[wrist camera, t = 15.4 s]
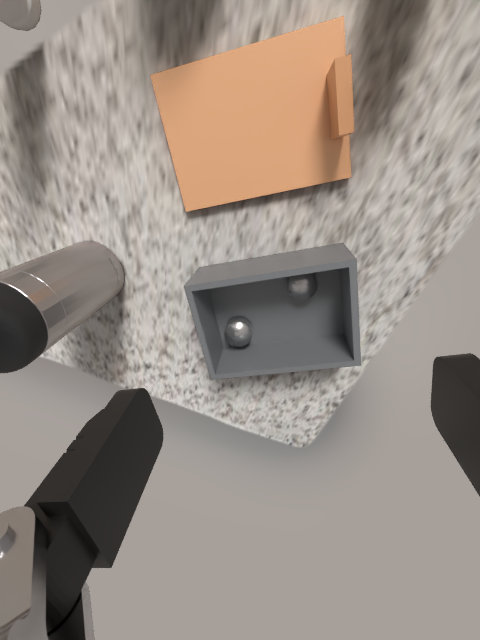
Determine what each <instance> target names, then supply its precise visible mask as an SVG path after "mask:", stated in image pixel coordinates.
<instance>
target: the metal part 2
mask: <svg viewBox="0 0 480 640" xmlns="http://www.w3.org/2000/svg"><path fill="white" fill-rule="evenodd" d="M286 284H287V291H288V293H289V295H290V296H291V297H292V298H294V299H296V300H307V299H309V298H311V297H312V296H313V295H314V294H315V293H316V291H317V287H318V284H317V280H316V277H315V274H314V273H308V274H301V275H295V276H288V277H287V279H286Z"/></svg>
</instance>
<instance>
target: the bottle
mask: <svg viewBox="0 0 480 640" xmlns="http://www.w3.org/2000/svg"><path fill="white" fill-rule="evenodd" d="M40 14H41V6H40V0H0V21H1V22H3V23H4V24H6V25H8V26H10V27H11V28H14V29H17V30H25V31H28V30H31V29H33V28H34V27H35V26H36V25H37V23H38V22H39V20H40Z"/></svg>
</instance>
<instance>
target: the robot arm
mask: <svg viewBox="0 0 480 640" xmlns="http://www.w3.org/2000/svg"><path fill="white" fill-rule="evenodd" d="M123 285H124V271H123V268H122V265H121V263H120V261H119V260H118V258H117V257H116V255H115V254H114V253H113V252H112V251H111V250H109V249H108V248H107V247H105V246H103V245H101V244H99V243H96V242H92V241H84V242H79V243H76V244H74V245H71V246H68V247H66V248H63V249H60V250H57V251H55V252H52V253H49V254H47V255H44V256H41V257H39V258H36V259H33V260H31V261H28V262H25V263H23V264H20V265H17V266H15V267H12V268H9V269H7V270H4V271H1V272H0V373H8V372H13V371H17V370H19V369H22V368H23V367H25V366H27V365H28V364H30V363H31V362H32V361H33V360H35V359H36V358H37V357H39V356H40V355H41V354H42V353H44V352H45V351H46V350H48V349H49V348H50V347H51V346H53V345H54V344H55V343H57V342H58V341H59V340H60V339H61V338H63V337H64V336H65V335H67V334H68V333H69V332H70V331H72V330H73V329H74V328H76V327H77V326H78V325H79V324H81V323H82V322H83V321H84V320H86V319H87V318H88V317H90V316H91V315H92V314H93V313H95V312H96V311H97V310H99V309H100V308H101V307H102V306H104V305H105V304H106V303H108V302H109V301H110V300H111V299H113V298H114V297H115V296H116V295H118V294H119V292H120V291H121V290H122V287H123ZM431 411H432V416H433V419H434V422H435V425H436V427H437V428H438V431H439V432H440V434H441V435H442V437H443V438H444V440H445V442H446V443H447V445H448V447H449V448H450V450H451V451H452V453H453V454H454V456H455V458H456V459H457V461H458V462H459V464H460V466H461V467H462V469H463V470H464V472H465V474H466V475H467V477H468V478H469V480H470V481H471V483H472V485H473V486H474V488H475V490H476V491H477V493H478V494H479V496H480V359H479V358H477V357H476V356H475V355H473V354H471V353H469V354H460V355H450V356H441V357H436V358H435V360H434V364H433V377H432V393H431ZM162 442H163V428H162V425H161V422H160V420H159V417H158V415H157V413H156V410H155V408H154V405H153V403H152V400H151V398H150V395H149V393H148V391H147V390H146V389H144V388H138V389H129V390H120V391H118V392H116V394H115V395H114V396H113V398H112V399H111V400H110V402H109V403H108V405H107V406H106V407H105V409H102V410H101V411H100V412H99V413H98V414H96V415H95V416H94V417H93V418H92V419H90V420H89V421H88V422H87V423H86V425H85V426H84V427H83V428H82V430H81V431H80V433H79V434H78V435H77V436H76V440H74V441H73V442H72V443H71V444H70V446H69V447H68V448H67V452H66V453H64V454H63V455H62V457H61V458H60V459H59V460H58V462H57V463H56V464H55V466H54V467H53V468H52V470H51V471H50V472H49V474H48V475H47V476H46V478H45V479H44V480H43V482H42V483H41V484H40V486H39V487H38V488H37V490H36V491H35V492H34V494H33V495H32V496H31V498H30V499H29V500H28V502H27V503H26V504H25V505H24V506H22V507H15V508H12V509H9V510H7V511H4V512H2V513H1V514H0V640H95V639H94V630H93V620H92V610H91V601H90V593H89V592H90V591H89V587H88V585H87V583H86V579H87V576H88V575H89V572H90V570H91V568H111V567H112V565H113V563H114V560H115V558H116V555H117V553H118V551H119V548H120V546H121V543H122V541H123V539H124V536H125V534H126V531H127V529H128V527H129V524H130V522H131V519H132V517H133V515H134V512H135V510H136V507H137V505H138V503H139V500H140V498H141V495H142V493H143V491H144V488H145V486H146V483H147V481H148V478H149V476H150V474H151V471H152V469H153V466H154V464H155V462H156V459H157V457H158V454H159V452H160V449H161V447H162Z"/></svg>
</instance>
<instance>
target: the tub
mask: <svg viewBox="0 0 480 640" xmlns="http://www.w3.org/2000/svg"><path fill="white" fill-rule="evenodd" d="M308 273H314V274H315V277H316V280H317V284H318V287H317V291H316V293H315V294H314V295H313V296H312V297H311V298H309V299H307V300H296V299H294V298H292V297H291V296H290V295H289V293H288V291H287V284H286V279H287V277H288V276H295V275H301V274H308ZM184 289H185V292H186V296H187V299H188V303H189V306H190V309H191V313H192V316H193V320H194V323H195V327H196V330H197V333H198V337H199V340H200V344H201V347H202V350H203V354H204V357H205V361H206V364H207V368H208V371H209V374H210V378H211V380H214V379H225V378H235V377H246V376H256V375H267V374H277V373H288V372H298V371H309V370H319V369H330V368H340V367H350V366H361V353H360V330H359V307H358V284H357V260H356V258H355V257H354V255H353V254H352V253H351V252H350V251H349V249H348V248H347V247H346V246H345V245H344V243H339V244H333V245H328V246H322V247H316V248H310V249H304V250H298V251H292V252H286V253H280V254H274V255H269V256H263V257H257V258H251V259H245V260H239V261H233V262H227V263H221V264H215V265H209V266H204V267H199V268H198V269H197V271H196V272H195V273H194V274H193V275H192V277H191V278H190V279H189V280H188V282H187V283H186V284H185V285H184ZM234 316H244V317H246V318H248V319H249V320H250V322H251V323H252V335H251V340H250V341H249V343H248V344H246V345H244V346H241V347H236V346H232V345H231V344H229V343H228V342H227V341H226V339H225V337H224V331H225V328H226V325H227V322H228V320H229V319H230V318H232V317H234Z"/></svg>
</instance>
